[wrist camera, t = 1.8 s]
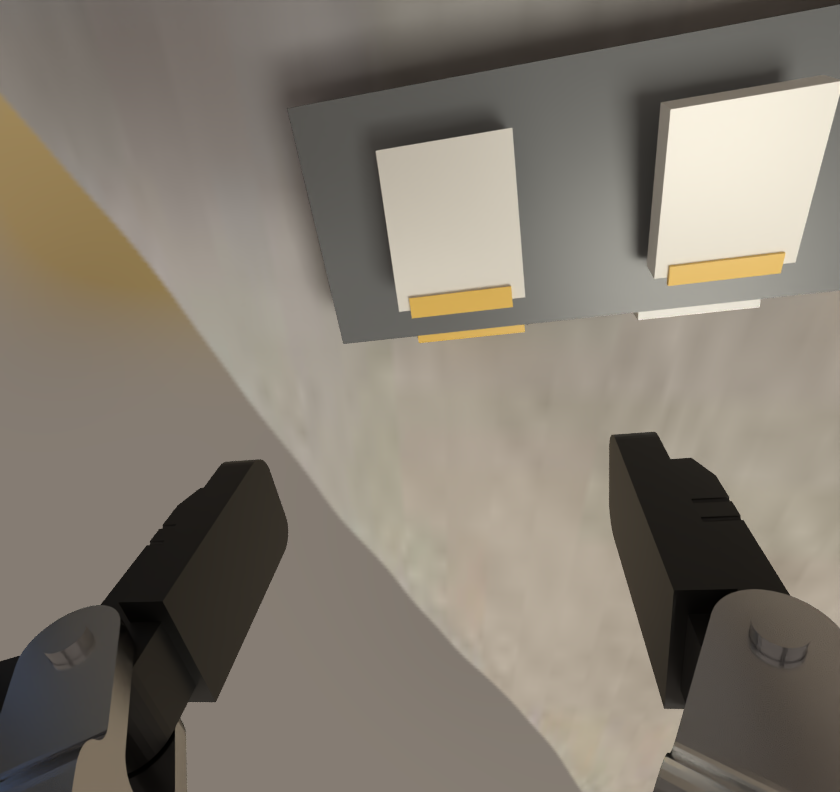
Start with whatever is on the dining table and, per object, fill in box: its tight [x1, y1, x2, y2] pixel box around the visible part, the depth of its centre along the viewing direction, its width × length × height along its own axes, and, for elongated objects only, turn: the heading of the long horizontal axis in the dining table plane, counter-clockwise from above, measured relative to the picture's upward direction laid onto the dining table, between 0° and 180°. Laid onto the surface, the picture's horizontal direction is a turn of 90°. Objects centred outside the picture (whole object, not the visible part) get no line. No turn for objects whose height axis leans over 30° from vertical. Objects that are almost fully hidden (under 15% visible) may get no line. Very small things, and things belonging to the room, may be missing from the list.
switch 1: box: [376, 128, 525, 318], centre depth 21 cm, size 6×5×1 cm
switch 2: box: [647, 75, 840, 286], centre depth 19 cm, size 6×5×1 cm
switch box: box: [287, 4, 840, 344], centre depth 23 cm, size 11×32×4 cm, turn 99°
